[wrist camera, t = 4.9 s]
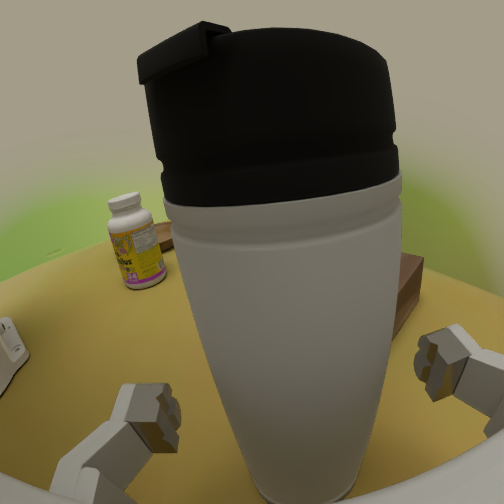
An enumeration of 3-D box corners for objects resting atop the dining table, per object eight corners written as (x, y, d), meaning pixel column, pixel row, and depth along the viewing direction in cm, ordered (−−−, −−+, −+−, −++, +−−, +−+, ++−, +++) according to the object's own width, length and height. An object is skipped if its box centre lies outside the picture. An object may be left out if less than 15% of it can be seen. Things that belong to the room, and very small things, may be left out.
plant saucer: (109, 267, 51) (105, 254, 50) (130, 240, 64) (127, 229, 63) (185, 253, 51) (181, 239, 50) (192, 227, 65) (189, 216, 64)
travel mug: (231, 492, 13) (82, 89, 6) (287, 421, 18) (238, 83, 11) (325, 533, 10) (330, -31, 2) (372, 447, 15) (399, 59, 7)
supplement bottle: (120, 283, 43) (95, 203, 38) (154, 266, 47) (134, 189, 42) (136, 295, 39) (108, 205, 34) (175, 276, 43) (153, 189, 38)
